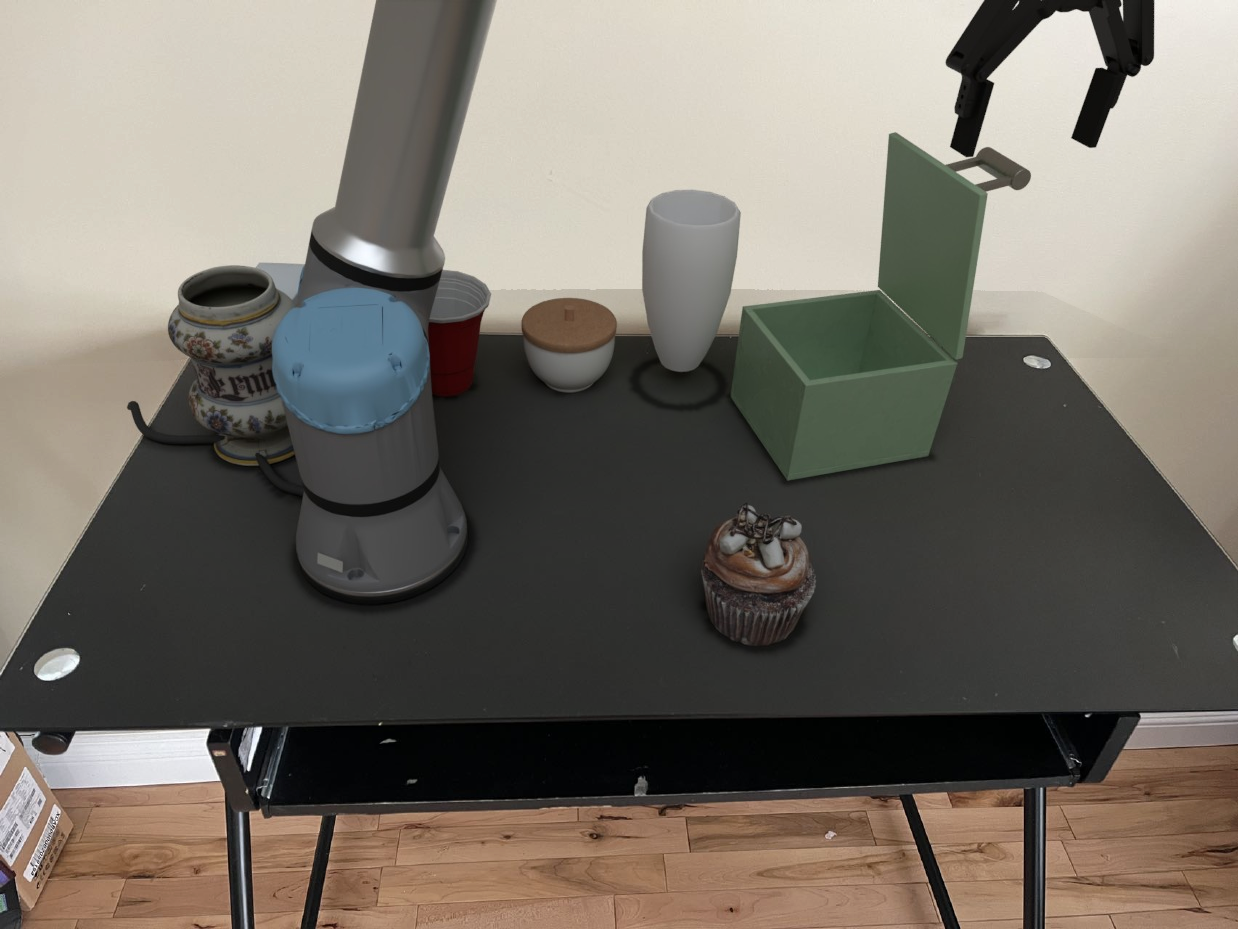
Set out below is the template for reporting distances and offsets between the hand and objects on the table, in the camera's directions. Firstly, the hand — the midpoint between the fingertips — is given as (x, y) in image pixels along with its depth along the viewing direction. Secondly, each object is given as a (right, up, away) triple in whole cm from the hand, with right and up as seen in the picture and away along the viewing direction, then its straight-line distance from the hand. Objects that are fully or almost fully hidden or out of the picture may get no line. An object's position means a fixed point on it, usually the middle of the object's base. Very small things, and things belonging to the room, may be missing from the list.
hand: (1023, 147), depth 86 cm
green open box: (-15, -26, +15) cm, 33 cm away
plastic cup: (-58, -21, +19) cm, 64 cm away
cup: (-31, -20, +21) cm, 43 cm away
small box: (-75, -21, +19) cm, 80 cm away
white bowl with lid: (-44, -20, +21) cm, 53 cm away
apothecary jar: (-76, -27, +10) cm, 81 cm away
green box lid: (-8, -9, +4) cm, 12 cm away
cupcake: (-27, -43, -6) cm, 51 cm away
